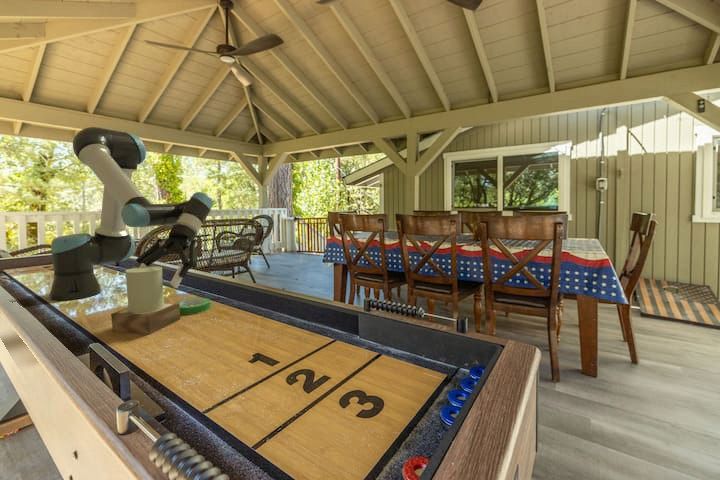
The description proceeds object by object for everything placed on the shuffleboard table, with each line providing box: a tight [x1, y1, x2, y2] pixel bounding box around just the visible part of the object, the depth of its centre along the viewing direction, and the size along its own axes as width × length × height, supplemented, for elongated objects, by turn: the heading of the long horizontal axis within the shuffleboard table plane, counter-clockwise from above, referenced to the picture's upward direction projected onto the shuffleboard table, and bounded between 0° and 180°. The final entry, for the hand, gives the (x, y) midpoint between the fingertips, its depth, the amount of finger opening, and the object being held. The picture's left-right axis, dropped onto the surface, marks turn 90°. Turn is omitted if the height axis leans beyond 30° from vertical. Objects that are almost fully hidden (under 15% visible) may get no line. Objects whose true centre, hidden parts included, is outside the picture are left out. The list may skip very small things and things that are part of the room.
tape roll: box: [175, 297, 211, 315], centre depth 115 cm, size 11×11×3 cm
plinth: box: [110, 302, 181, 335], centre depth 100 cm, size 12×12×5 cm
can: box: [124, 265, 165, 313], centre depth 99 cm, size 9×9×12 cm
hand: (153, 284), depth 101 cm, fingers open, 13 cm apart
